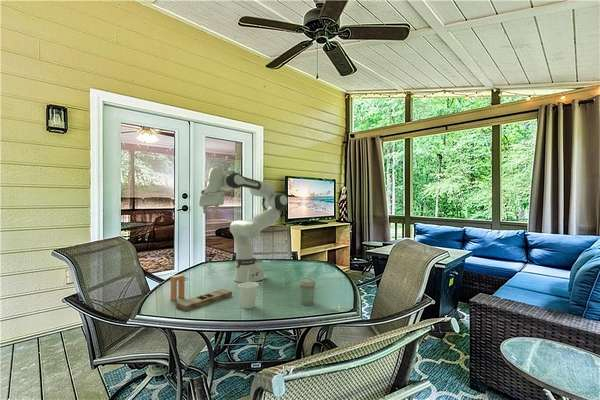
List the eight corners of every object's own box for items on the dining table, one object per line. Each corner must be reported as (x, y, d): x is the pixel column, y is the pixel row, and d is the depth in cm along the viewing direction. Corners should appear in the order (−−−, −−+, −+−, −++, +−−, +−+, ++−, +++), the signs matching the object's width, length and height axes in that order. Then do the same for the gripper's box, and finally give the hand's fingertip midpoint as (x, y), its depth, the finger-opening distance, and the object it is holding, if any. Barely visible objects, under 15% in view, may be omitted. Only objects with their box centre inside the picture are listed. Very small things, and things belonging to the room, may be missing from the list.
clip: (180, 296, 162) (180, 274, 162) (184, 297, 160) (184, 275, 160) (170, 299, 157) (170, 276, 157) (174, 300, 155) (174, 277, 155)
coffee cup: (310, 307, 146) (310, 283, 146) (295, 304, 150) (295, 280, 150) (318, 302, 153) (318, 279, 153) (304, 299, 158) (304, 277, 158)
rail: (222, 293, 167) (222, 288, 167) (231, 296, 162) (231, 291, 162) (176, 307, 145) (176, 302, 145) (185, 311, 140) (185, 306, 140)
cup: (254, 311, 141) (254, 288, 141) (234, 309, 143) (235, 286, 143) (261, 304, 151) (261, 282, 151) (242, 302, 153) (243, 281, 152)
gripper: (228, 191, 182) (224, 213, 178) (207, 194, 194) (203, 215, 190) (220, 188, 177) (216, 210, 174) (199, 191, 189) (195, 212, 186)
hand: (209, 212), depth 182 cm, fingers open, 8 cm apart
